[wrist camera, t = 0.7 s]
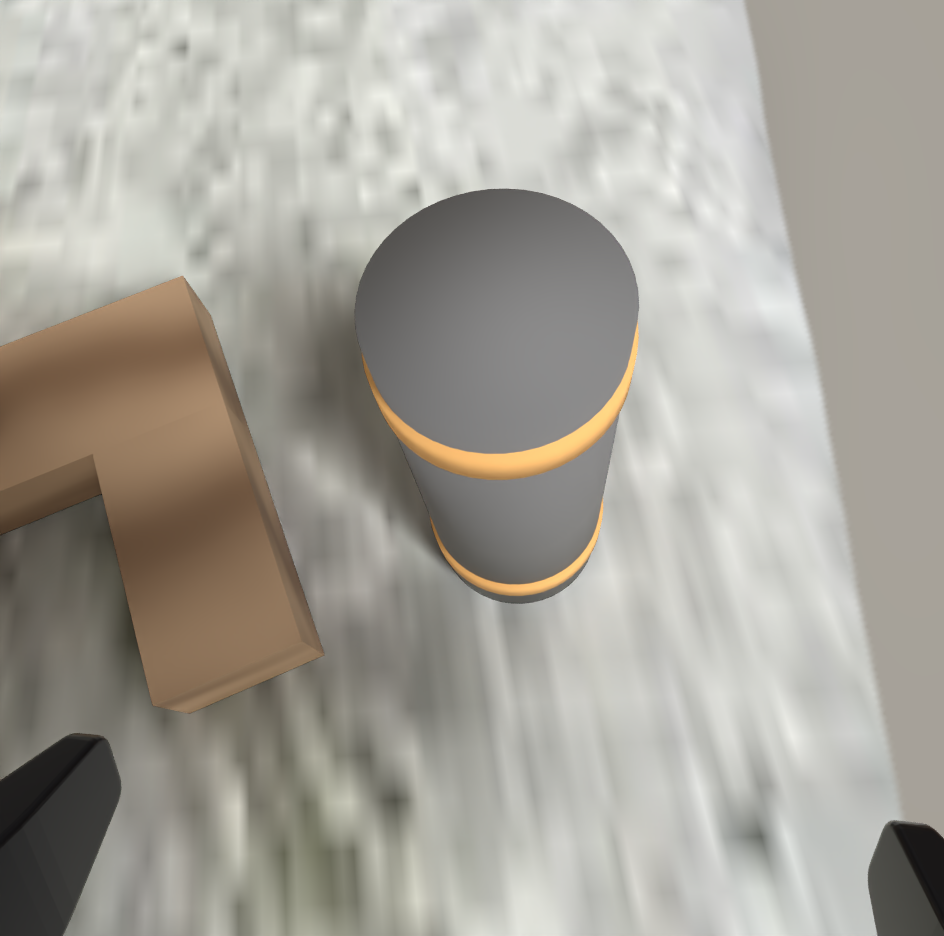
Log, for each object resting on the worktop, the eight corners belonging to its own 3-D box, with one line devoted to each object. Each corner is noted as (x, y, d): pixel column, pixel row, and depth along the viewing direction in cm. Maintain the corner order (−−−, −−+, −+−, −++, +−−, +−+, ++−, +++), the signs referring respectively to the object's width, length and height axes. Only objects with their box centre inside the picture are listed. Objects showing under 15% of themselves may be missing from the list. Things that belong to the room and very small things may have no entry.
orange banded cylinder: (582, 622, 24) (618, 461, 12) (422, 587, 25) (311, 406, 13) (610, 470, 26) (664, 203, 14) (460, 443, 27) (393, 169, 15)
